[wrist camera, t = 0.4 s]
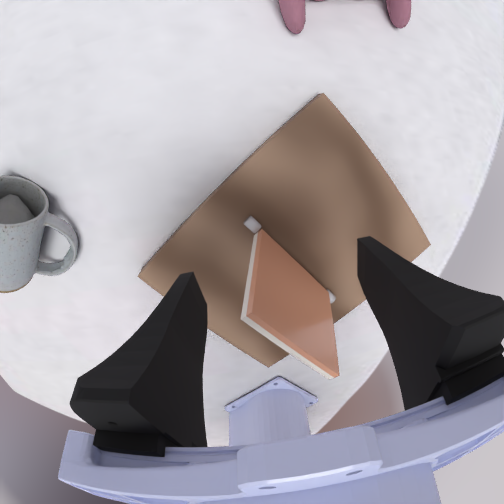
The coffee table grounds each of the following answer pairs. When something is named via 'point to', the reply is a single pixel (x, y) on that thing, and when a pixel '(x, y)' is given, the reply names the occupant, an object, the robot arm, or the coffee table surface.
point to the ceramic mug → (27, 234)
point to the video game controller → (295, 3)
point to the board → (290, 222)
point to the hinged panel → (289, 305)
